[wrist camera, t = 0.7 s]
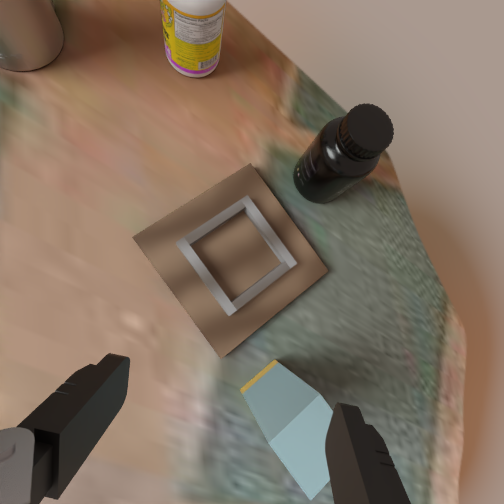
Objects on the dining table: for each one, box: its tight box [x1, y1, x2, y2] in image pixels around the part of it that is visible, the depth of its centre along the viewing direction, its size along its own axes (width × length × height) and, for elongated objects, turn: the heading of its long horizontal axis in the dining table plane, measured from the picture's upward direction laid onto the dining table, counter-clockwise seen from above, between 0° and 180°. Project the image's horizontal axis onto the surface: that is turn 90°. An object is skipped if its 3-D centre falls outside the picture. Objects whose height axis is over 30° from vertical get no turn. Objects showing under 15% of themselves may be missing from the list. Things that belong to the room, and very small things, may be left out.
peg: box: [240, 359, 333, 501], centre depth 27 cm, size 5×5×12 cm
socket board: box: [132, 163, 328, 359], centre depth 33 cm, size 16×16×3 cm
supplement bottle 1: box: [160, 0, 226, 77], centre depth 30 cm, size 7×7×13 cm
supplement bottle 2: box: [293, 104, 394, 203], centre depth 32 cm, size 7×7×12 cm
